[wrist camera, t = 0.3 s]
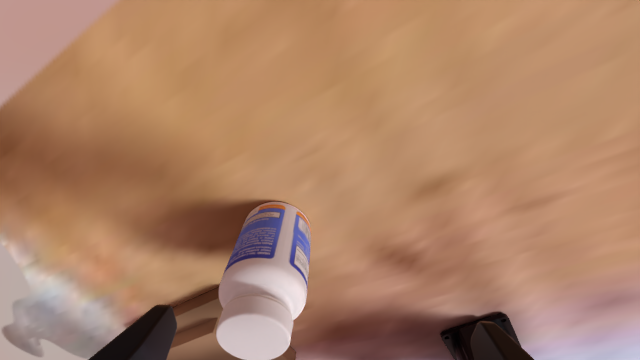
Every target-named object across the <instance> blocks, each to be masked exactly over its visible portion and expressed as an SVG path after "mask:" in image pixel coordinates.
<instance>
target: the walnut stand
mask: <svg viewBox="0 0 640 360" xmlns="http://www.w3.org/2000/svg"><path fill="white" fill-rule="evenodd" d="M173 311H174V314H175V318H176V321H177V330H176V333H175V336H174V339H173V342H172V345H171V348H170V351H169V353H168V356H167V359H166V360H244V359H240V358H237V357H235V356H233V355H231V354H230V353H228V352H227V351H225V350H224V349H223V348H222V347H221V346H220V344H219V343H218V341H217V338H216V330H217V326H218V323H219V320H220V317H221V313H222V311H223V307H222V305H221V303H220V300H219V287H218V288H216V289H214V290H211V291H209V292H207V293H204V294H202V295H200V296H198V297H195V298H193V299H191V300H189V301H186V302H184V303H182V304H180V305H177V306H175V307H173ZM295 358H296V352H295V351H294V350H293V349H292V348H291V347H290V346H289V347H288V348H287V350H286V351H285V352H284V353H283V354H282V355H280V356H278V357H276V358H274V359H271V360H295Z"/></svg>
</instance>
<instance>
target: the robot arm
mask: <svg viewBox="0 0 640 360" xmlns="http://www.w3.org/2000/svg"><path fill="white" fill-rule="evenodd" d="M176 330H177V321H176V318H175V314H174V311H173V308H172V306H170V305H156V306H154V307H153V308H152V309H150V310H149V311H148V312H147V313H145V314H144V315H143V316H142V317H141V318H139V319H138V320H137V321H136V322H134V323H133V324H132V325H131V326H129V327H128V328H127V329H126V330H124V331H123V332H122V333H121V334H119V335H118V336H117V337H116V338H115V339H113V340H112V341H111V342H110V343H108V344H107V345H106V346H105V347H103V348H102V349H101V350H100V351H98V352H97V353H96V354H95V355H94V356H92V357H91V358H90V359H89V360H166V359H167V356H168V353H169V351H170V348H171V345H172V342H173V339H174V336H175V333H176ZM441 337H442V340H443V341H444V343H445V345H446V346H447V348H448V349H449V351H450V353H451V354H452V356H453V357H454V359H455V360H534V359H533V358H532V357H531V356H530V355H529V354H528V353H527V352H526V351H525V350H524V349H522V347H521V345H520V343H519V341H518V338H517V336H516V334H515V331H514V329H513V327H512V325H511V322H510V320H509V318H508V316H507V315H506V314H498V315H495V316H492V317H488V318H485V319H482V320H479V321H475V322H472V323H469V324H466V325H462V326H459V327H456V328H453V329H450V330H446V331H443V332H442V333H441Z"/></svg>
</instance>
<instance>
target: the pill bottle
mask: <svg viewBox="0 0 640 360" xmlns="http://www.w3.org/2000/svg"><path fill="white" fill-rule="evenodd" d="M310 245H311V227H310V224H309V221H308V219H307V218H306V216H305V215H304V214H303V213H302V212H301V211H300V210H299V209H297V208H296V207H294V206H292V205H290V204H287V203H283V202H268V203H264V204H262V205H259V206H258V207H256V208H255V209H253V210H252V211H251V212H250V213H249V215H248V216H247V218H246V220H245V222H244V225H243V227H242V230H241V232H240V235H239V237H238V240H237V242H236V245H235V247H234V250H233V252H232V255H231V257H230V260H229V262H228V264H227V267H226V269H225V272H224V274H223V277H222V280H221V282H220V286H219V300H220V303H221V305H222V307H223V311H222V313H221V317H220V320H219V323H218V326H217V330H216V338H217V341H218V343H219V344H220V346H221V347H222V348H223V349H224V350H225V351H227V352H228V353H230V354H231V355H233V356H235V357H237V358H240V359H244V360H271V359H274V358H276V357H278V356H280V355H282V354H283V353H284V352H285V351H286V350H287V348H288V347H289V345H290V340H291V334H292V329H293V320H294V319H296V318H297V317H298V316H299V315H300V313H301V312H302V310H303V308H304V306H305V303H306V296H307V285H308V273H309V258H310Z"/></svg>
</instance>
